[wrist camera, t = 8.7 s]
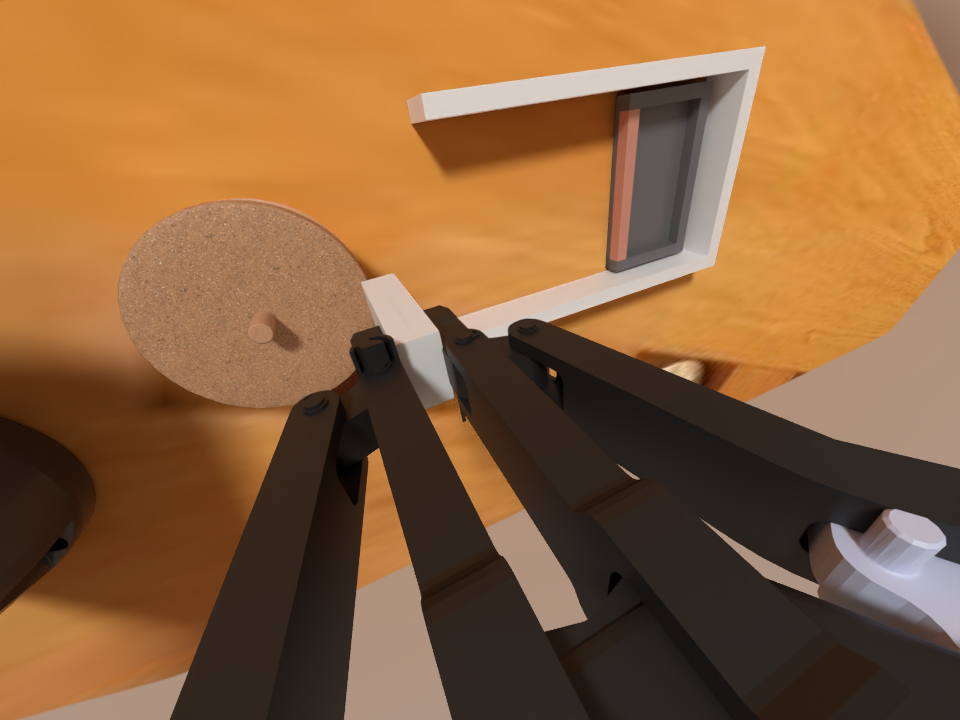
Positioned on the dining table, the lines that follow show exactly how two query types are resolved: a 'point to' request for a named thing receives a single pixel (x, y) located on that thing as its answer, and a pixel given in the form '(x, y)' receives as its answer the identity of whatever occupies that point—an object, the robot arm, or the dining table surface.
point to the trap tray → (654, 171)
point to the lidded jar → (244, 302)
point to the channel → (712, 182)
